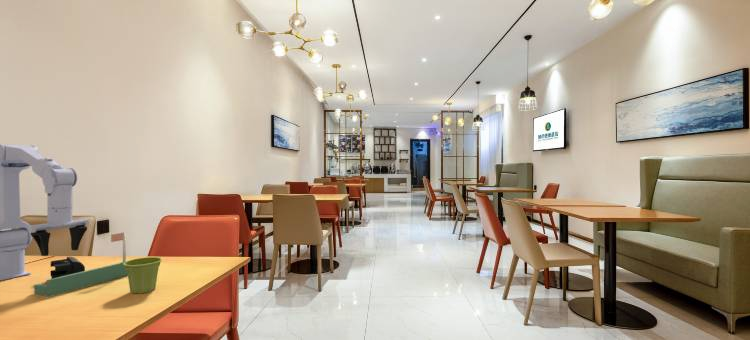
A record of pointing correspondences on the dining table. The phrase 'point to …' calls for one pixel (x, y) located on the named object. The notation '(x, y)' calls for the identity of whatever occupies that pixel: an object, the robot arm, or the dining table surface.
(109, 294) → the dining table surface
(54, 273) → the black plastic holder
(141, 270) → the plant pot
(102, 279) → the putting pocket
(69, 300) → the dining table surface
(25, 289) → the dining table surface
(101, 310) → the dining table surface
